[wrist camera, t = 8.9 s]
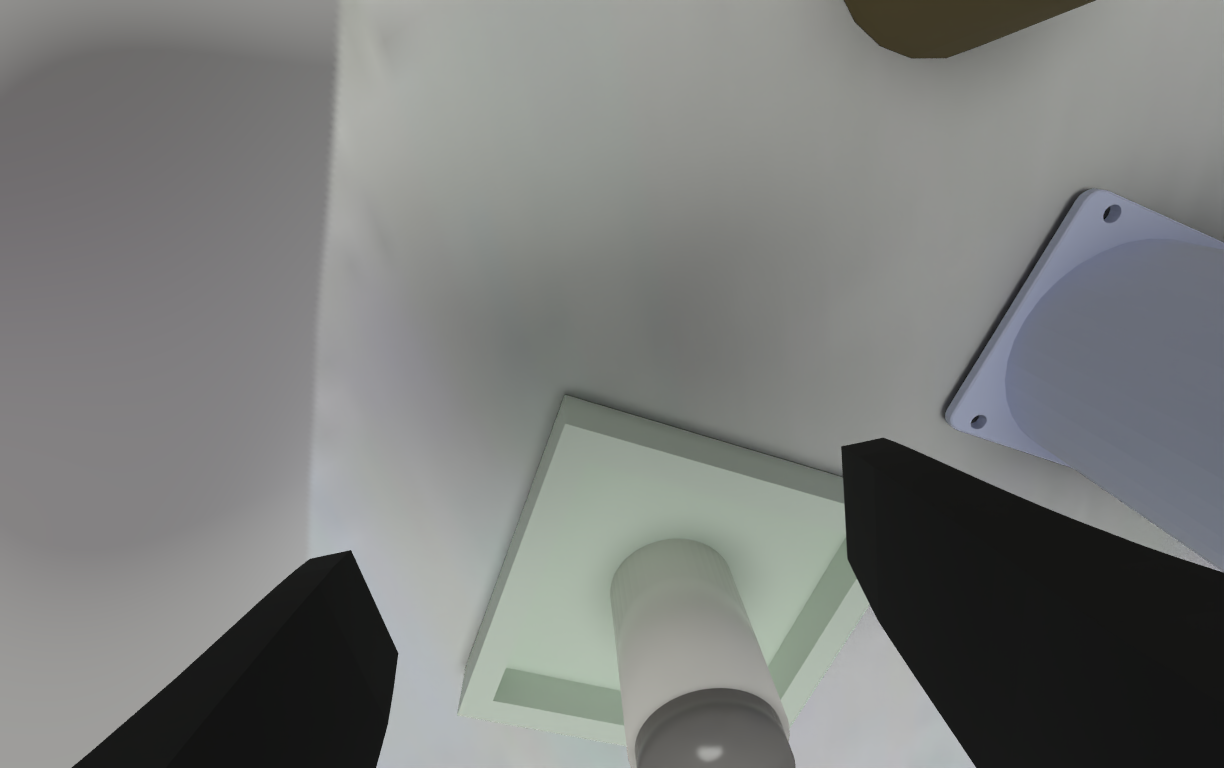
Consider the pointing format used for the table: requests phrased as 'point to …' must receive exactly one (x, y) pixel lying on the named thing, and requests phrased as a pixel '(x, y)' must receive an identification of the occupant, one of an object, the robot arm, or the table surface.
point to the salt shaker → (692, 665)
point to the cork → (949, 22)
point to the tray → (630, 519)
